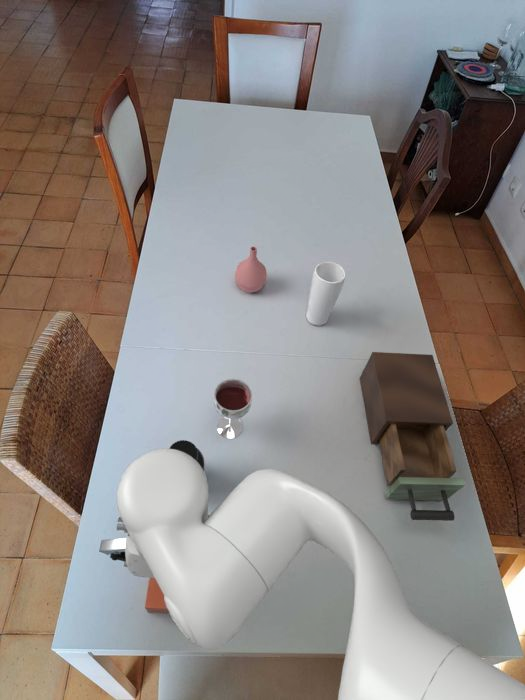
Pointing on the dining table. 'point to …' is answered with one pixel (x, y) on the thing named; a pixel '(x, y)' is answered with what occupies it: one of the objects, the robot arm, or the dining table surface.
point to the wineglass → (232, 406)
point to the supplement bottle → (189, 451)
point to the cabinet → (402, 392)
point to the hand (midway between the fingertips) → (177, 564)
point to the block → (155, 598)
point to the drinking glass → (324, 291)
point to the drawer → (419, 467)
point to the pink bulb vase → (251, 273)
